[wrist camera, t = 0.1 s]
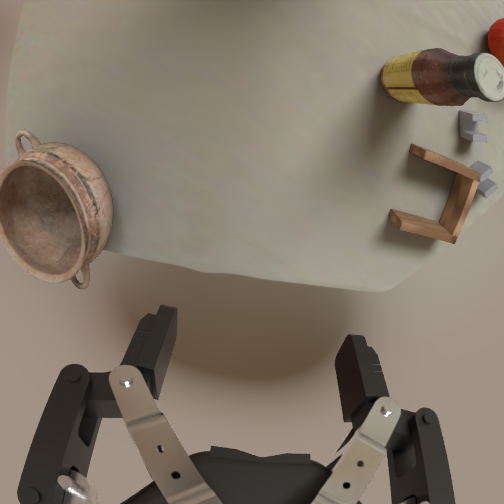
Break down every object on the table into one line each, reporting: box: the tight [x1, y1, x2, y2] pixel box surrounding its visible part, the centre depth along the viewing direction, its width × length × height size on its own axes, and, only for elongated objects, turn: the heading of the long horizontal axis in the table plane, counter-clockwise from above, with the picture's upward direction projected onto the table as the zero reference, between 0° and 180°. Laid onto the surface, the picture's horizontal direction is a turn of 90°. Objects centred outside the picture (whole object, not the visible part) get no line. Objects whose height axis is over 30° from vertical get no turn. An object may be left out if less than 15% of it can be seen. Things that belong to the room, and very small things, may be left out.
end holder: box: [389, 144, 481, 244], centre depth 36 cm, size 11×11×4 cm
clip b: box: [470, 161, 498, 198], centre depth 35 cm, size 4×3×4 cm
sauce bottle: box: [381, 48, 504, 106], centre depth 22 cm, size 6×6×20 cm
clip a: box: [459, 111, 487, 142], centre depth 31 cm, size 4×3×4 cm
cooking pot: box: [0, 129, 113, 289], centre depth 36 cm, size 25×19×12 cm
